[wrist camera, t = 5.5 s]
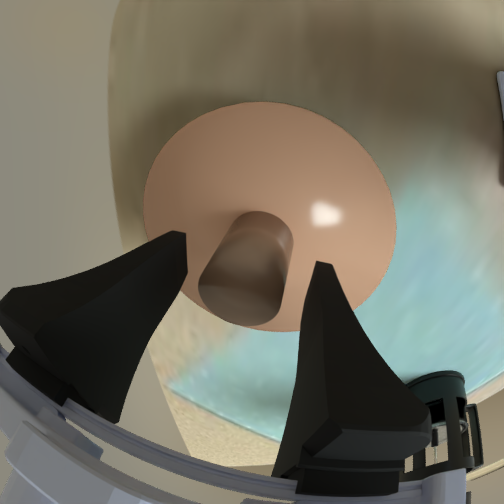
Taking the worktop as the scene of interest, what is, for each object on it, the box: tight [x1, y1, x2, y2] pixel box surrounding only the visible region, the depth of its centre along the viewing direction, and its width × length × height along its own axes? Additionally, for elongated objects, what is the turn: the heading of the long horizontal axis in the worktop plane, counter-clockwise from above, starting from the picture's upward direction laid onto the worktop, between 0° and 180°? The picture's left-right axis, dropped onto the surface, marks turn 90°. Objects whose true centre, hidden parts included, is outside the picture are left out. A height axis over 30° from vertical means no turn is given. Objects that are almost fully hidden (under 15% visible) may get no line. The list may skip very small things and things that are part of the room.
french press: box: [399, 371, 484, 504], centre depth 16 cm, size 12×9×23 cm
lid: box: [143, 101, 396, 332], centre depth 12 cm, size 13×13×5 cm
